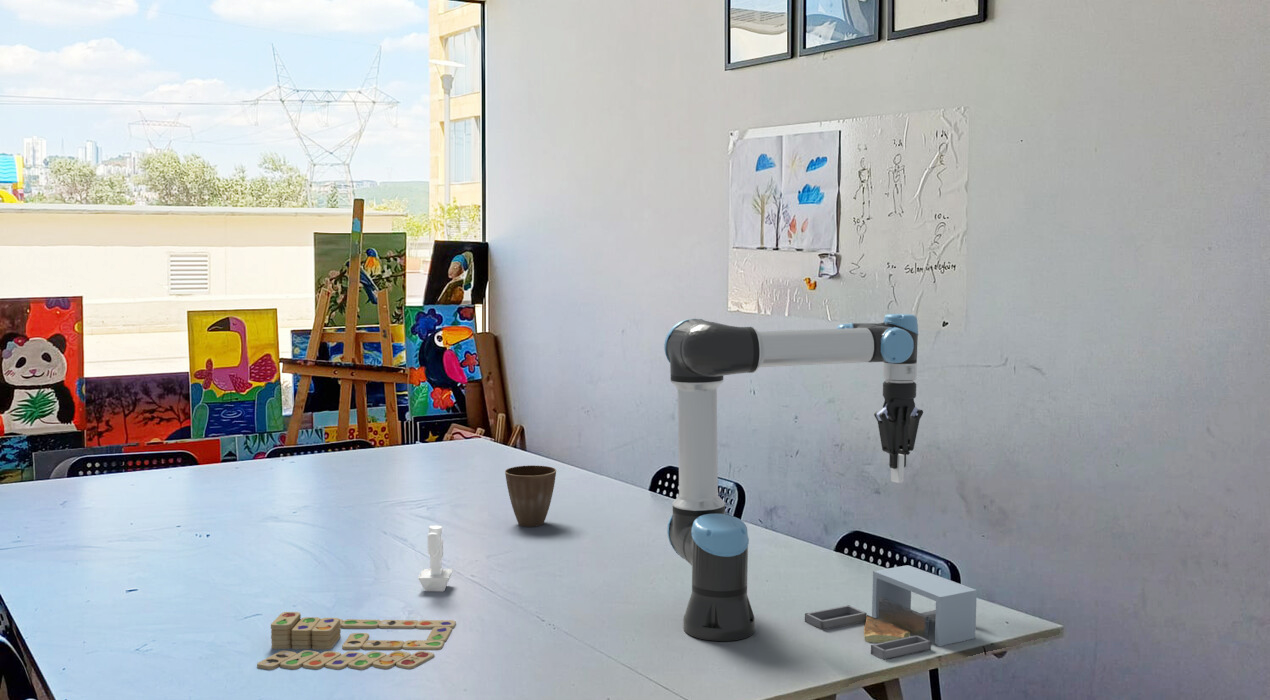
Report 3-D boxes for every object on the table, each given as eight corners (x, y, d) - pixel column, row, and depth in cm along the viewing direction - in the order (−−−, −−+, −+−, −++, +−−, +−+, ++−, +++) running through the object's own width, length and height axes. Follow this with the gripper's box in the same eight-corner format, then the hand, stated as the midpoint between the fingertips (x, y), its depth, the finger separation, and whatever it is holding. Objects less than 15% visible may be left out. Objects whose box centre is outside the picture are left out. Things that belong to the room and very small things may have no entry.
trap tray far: (822, 630, 229) (822, 621, 229) (804, 621, 234) (804, 613, 234) (866, 621, 235) (866, 613, 235) (848, 613, 240) (848, 605, 240)
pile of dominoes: (250, 672, 206) (249, 644, 206) (295, 624, 233) (294, 599, 233) (433, 673, 206) (433, 644, 206) (456, 625, 233) (456, 599, 233)
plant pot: (554, 530, 311) (553, 475, 310) (502, 530, 312) (501, 475, 310) (558, 518, 326) (558, 465, 325) (508, 517, 326) (508, 465, 325)
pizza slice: (866, 622, 235) (866, 612, 235) (910, 627, 233) (911, 617, 233) (862, 643, 223) (862, 632, 222) (908, 648, 220) (909, 637, 220)
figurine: (454, 582, 262) (453, 521, 260) (448, 594, 252) (447, 531, 251) (424, 582, 262) (423, 521, 260) (417, 594, 252) (416, 531, 251)
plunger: (924, 641, 222) (925, 612, 222) (878, 621, 234) (879, 593, 234) (979, 629, 230) (980, 600, 229) (932, 610, 242) (933, 583, 241)
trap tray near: (884, 660, 212) (884, 651, 212) (870, 653, 216) (871, 644, 215) (930, 650, 218) (930, 641, 218) (916, 643, 221) (916, 635, 221)
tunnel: (939, 646, 220) (940, 597, 219) (872, 616, 238) (873, 571, 237) (975, 638, 225) (976, 589, 224) (906, 609, 242) (907, 565, 242)
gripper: (888, 384, 244) (886, 487, 246) (932, 381, 250) (929, 482, 252) (866, 380, 251) (864, 481, 253) (909, 377, 257) (907, 476, 259)
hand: (897, 481), depth 252 cm, fingers closed
